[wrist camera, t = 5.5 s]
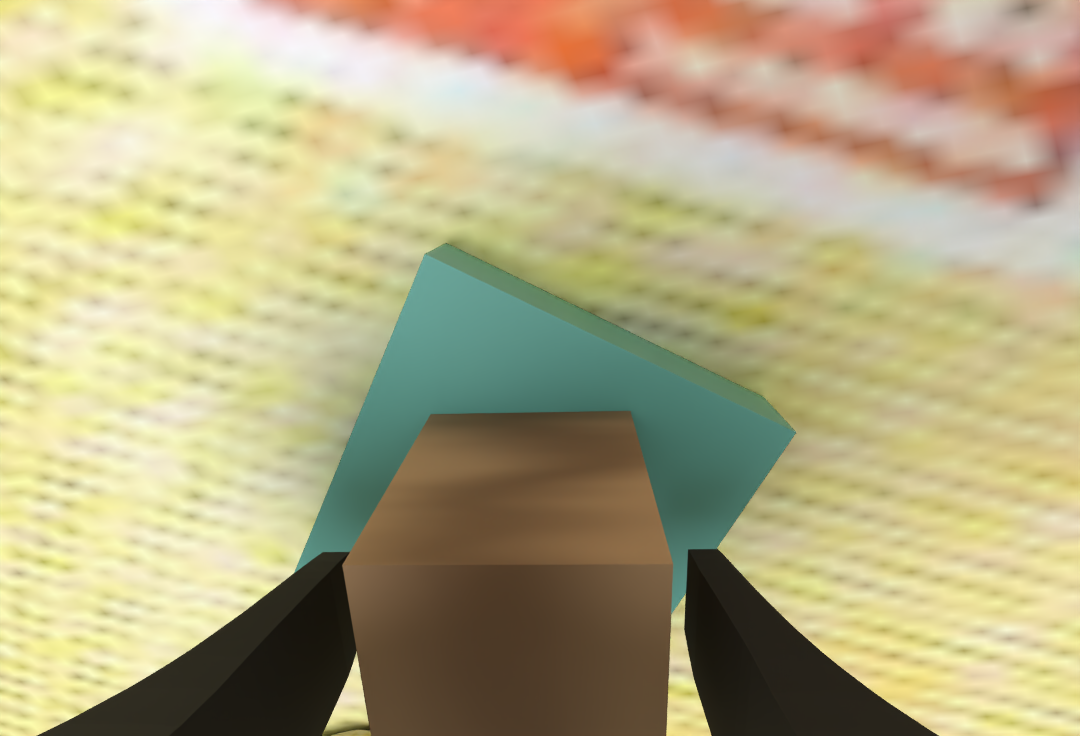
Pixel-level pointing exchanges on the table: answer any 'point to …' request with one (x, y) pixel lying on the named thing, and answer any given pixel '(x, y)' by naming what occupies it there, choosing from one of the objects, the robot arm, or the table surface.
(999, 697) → the table surface
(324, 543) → the teal base
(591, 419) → the walnut block
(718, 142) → the table surface
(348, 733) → the bread roll
